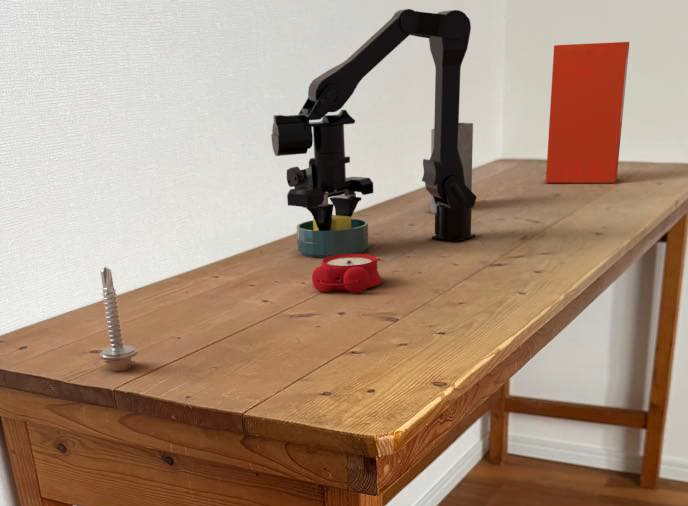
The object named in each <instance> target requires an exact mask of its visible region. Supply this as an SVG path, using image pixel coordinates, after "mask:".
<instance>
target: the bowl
mask: <svg viewBox="0 0 688 506" xmlns="http://www.w3.org/2000/svg"><path fill="white" fill-rule="evenodd" d="M369 239H370V237H369V222H368V221H367V220H364V219H361V218H352V217H351V229H345V230H332V231H316V230H314V225H313V219H312V220H311V219H310V220H307V221H303V222H301V223H299V224H297V225H296V241H297V250H298V252H299V253H300V254H301V255H303V256H305V257H310V258H318V259H325V258H327V257H330V256H335V255H342V254H364V253H365V252H366V250H367V249H368V248H369V246H370V243H369Z"/></svg>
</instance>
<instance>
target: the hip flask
mask: <svg viewBox="0 0 688 506" xmlns="http://www.w3.org/2000/svg"><path fill="white" fill-rule="evenodd" d="M430 131H431V132H430V156H431V155H432V153H433V149H434V128H432V129H431V130H430ZM473 140H474V123H473V122H459V128H458V152H459V155H460V158H461V161H462V164H463V170H464V178H465V185H466V186H467V187H468V188H469V189H470V190H471V191H472V192H473V190H472V189H473V188H472V187H473V186H472V185H473V146H474V142H473ZM438 205H439V204H436V203H435V201H434V198H433V195H431V194H430V213H431V214H435V213H437V206H438Z"/></svg>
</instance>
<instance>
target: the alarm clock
mask: <svg viewBox="0 0 688 506" xmlns="http://www.w3.org/2000/svg"><path fill="white" fill-rule="evenodd" d="M380 261H381V258H380V257H378V258H377V257H376V256H374V255H372V254H365V253H361V254H342V255H335V256H330V257H327V258H322V261H321V265H320V266H317V267H315V269H313V271H312V274H311V282H312V285H313V287H314V288H315V290H317V291H318V292H321V293H328V292H331V291H333V290H334V291H348V292H350V293H352V294H361V293H363V292H365V291H366V290H368V289H370V288H373V287H376V286H378V285H380V284H381V283H382V277H381V275H380V272H379V271H378V262H380Z"/></svg>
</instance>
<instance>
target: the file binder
mask: <svg viewBox="0 0 688 506" xmlns="http://www.w3.org/2000/svg"><path fill="white" fill-rule="evenodd" d="M629 50H630V41H617V42H616V41H615V42H614V41H613V42H595V43H594V42H593V43H575V44H574V43H572V44H556V45H553V59H552V71H551V72H552V73H551V74H552V75H551V87H550V88H551V89H550V105H549V120H548V121H549V122H548V141H547V155H546V172H545V173H546V174H545V183H546V184H615V183H616V181H617V180H618V179H617V178H618V170H619V160H620V149H621V148H620V146H621V137H622V126H623V116H624V106H625V105H624V104H625V94H626V84H627V73H628V64H629V53H630V51H629Z"/></svg>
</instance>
